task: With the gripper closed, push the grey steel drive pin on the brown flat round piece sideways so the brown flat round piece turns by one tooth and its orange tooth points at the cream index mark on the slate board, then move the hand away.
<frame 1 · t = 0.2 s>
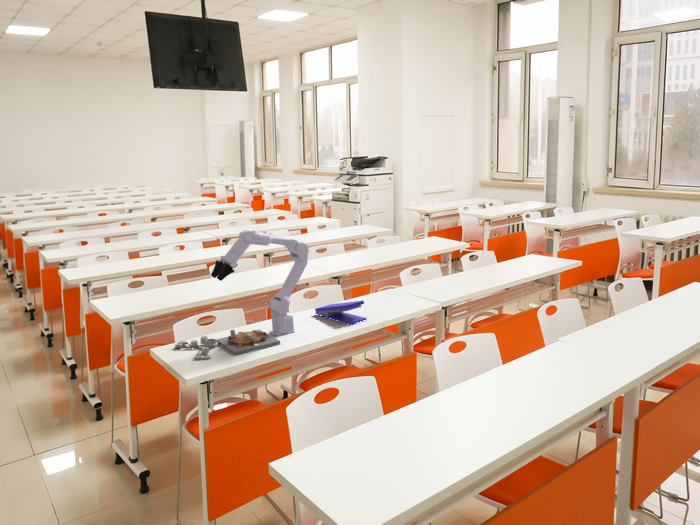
hand: (215, 278, 240), 31 cm above the table, tool tilted 45°, fingers open, 7 cm apart
board: (247, 343, 248), on the table
stapler: (340, 318, 280), on the table
pulley system: (201, 351, 243), on the table
brown flat round piece: (247, 334, 247), point 4 cm above the table, hinge at 0.0°
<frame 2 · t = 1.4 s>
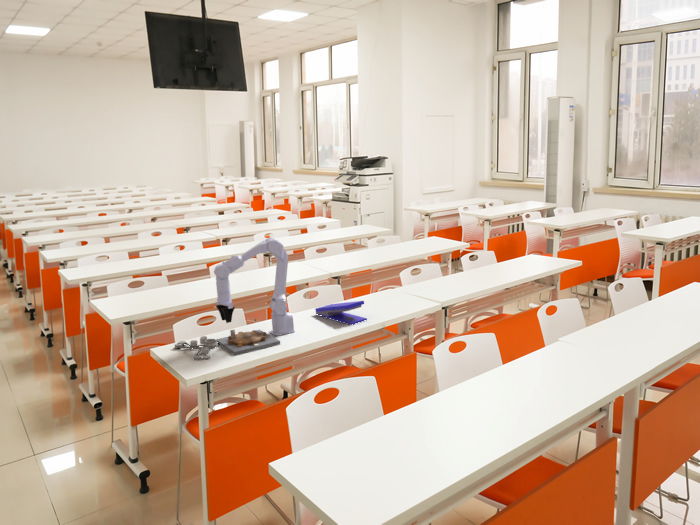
hand: (226, 321, 250), 9 cm above the table, tool pointing down, fingers open, 5 cm apart
nothing on the table moved.
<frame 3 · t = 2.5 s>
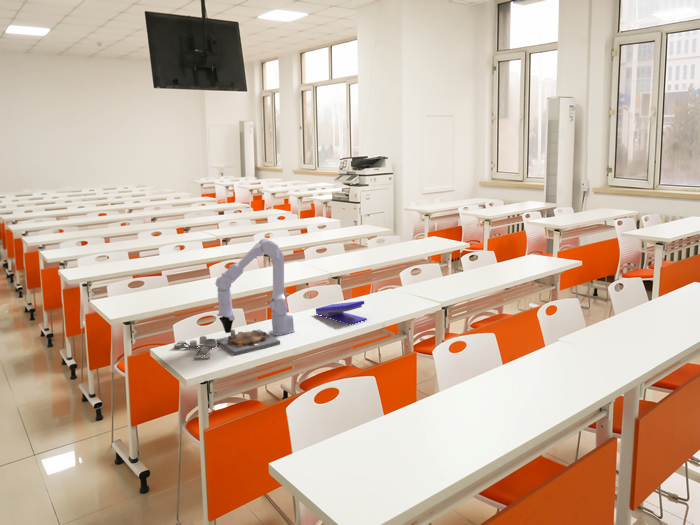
hand: (228, 332, 251), 4 cm above the table, tool pointing down, fingers closed
nothing on the table moved.
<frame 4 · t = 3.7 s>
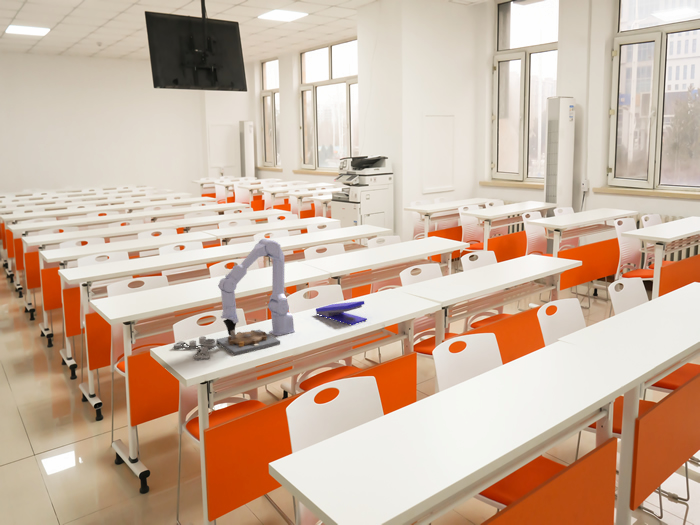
hand: (231, 335, 247), 4 cm above the table, tool pointing down, fingers closed, pressing on brown flat round piece
brown flat round piece: (247, 334, 247), point 4 cm above the table, hinge at 4.6°, touching gripper
everything else where it was.
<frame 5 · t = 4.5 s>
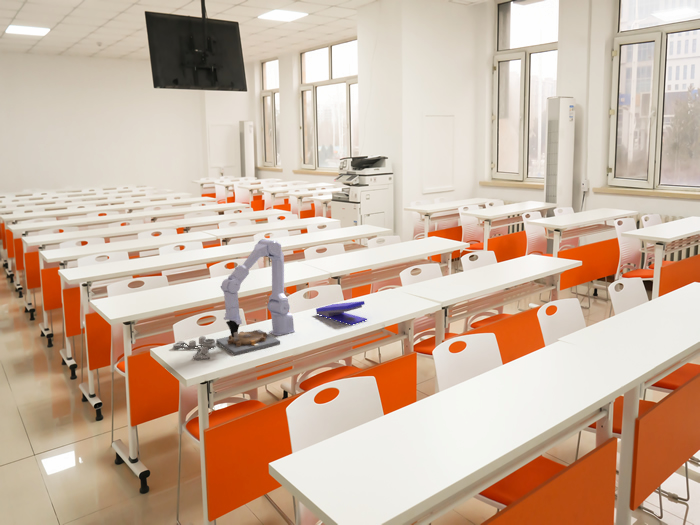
hand: (234, 336, 244), 4 cm above the table, tool pointing down, fingers closed, pressing on brown flat round piece
brown flat round piece: (247, 334, 247), point 4 cm above the table, hinge at 40.6°, touching gripper
everything else where it was.
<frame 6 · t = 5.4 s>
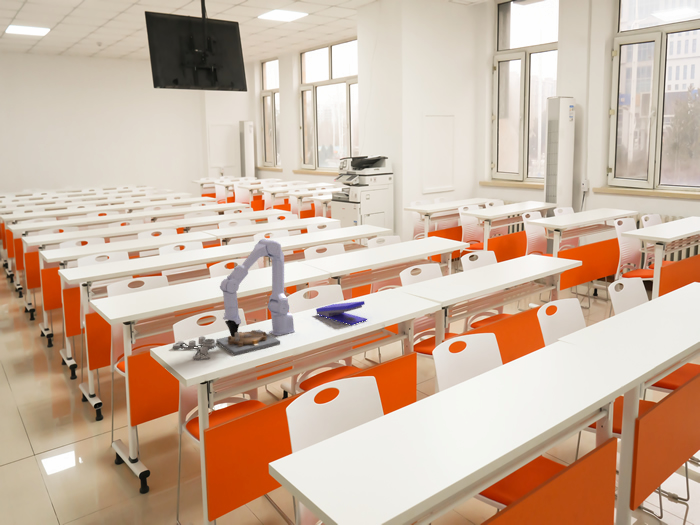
hand: (234, 336, 245), 4 cm above the table, tool pointing down, fingers closed
brown flat round piece: (247, 334, 247), point 4 cm above the table, hinge at 47.2°
everything else where it was.
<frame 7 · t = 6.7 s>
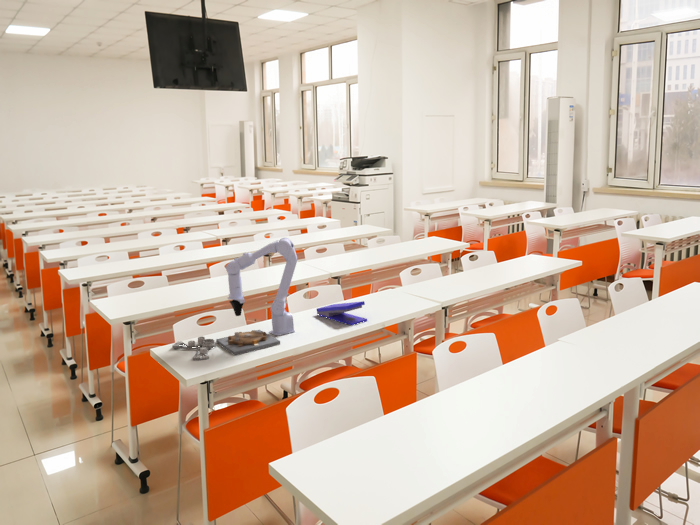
hand: (238, 315, 259), 9 cm above the table, tool pointing down, fingers closed
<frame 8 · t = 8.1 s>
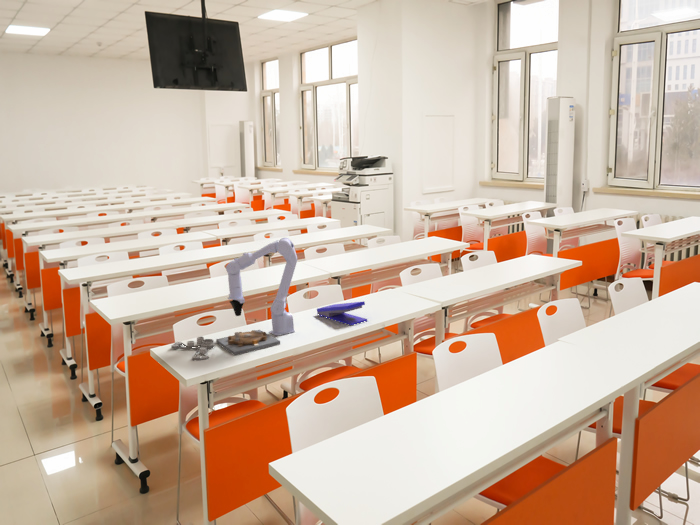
hand: (238, 315, 259), 9 cm above the table, tool pointing down, fingers closed
at the end: brown flat round piece at +47° (first picture: +0°); pulley system moved 1.5 cm from its start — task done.
